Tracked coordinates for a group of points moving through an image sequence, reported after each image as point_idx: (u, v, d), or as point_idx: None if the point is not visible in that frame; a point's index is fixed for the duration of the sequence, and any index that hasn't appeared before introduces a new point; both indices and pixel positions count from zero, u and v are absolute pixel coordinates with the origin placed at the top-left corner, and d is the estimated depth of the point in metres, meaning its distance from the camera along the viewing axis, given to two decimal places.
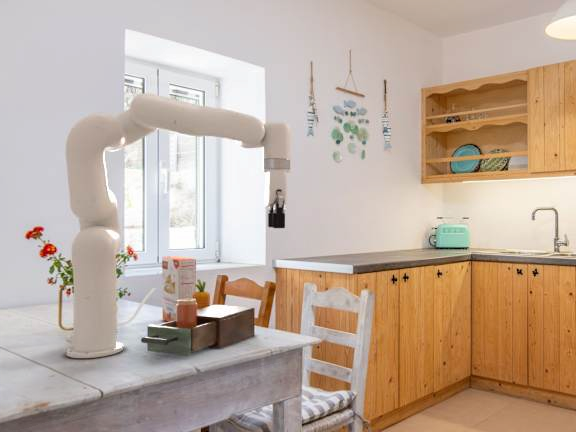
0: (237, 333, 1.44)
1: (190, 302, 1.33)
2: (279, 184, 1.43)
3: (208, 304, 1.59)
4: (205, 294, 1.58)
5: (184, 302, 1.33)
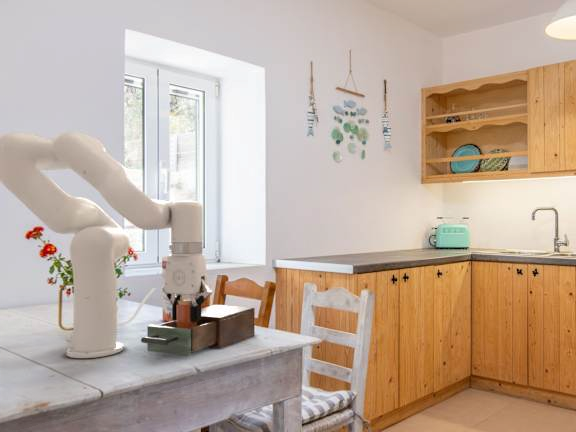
0: (237, 333, 1.44)
1: (190, 302, 1.33)
2: (202, 270, 1.33)
3: (208, 304, 1.59)
4: None
5: (184, 302, 1.33)
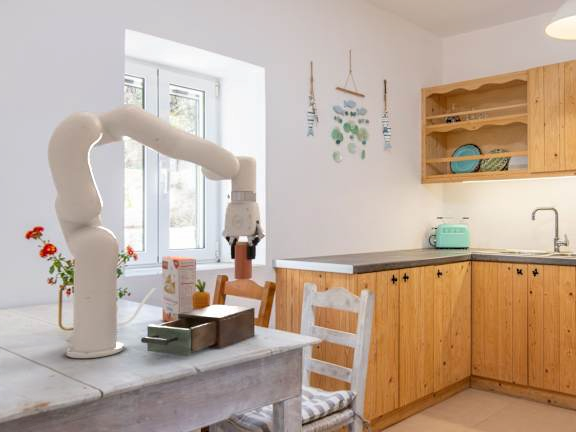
0: (237, 333, 1.44)
1: (246, 243, 1.56)
2: (257, 215, 1.55)
3: (208, 304, 1.59)
4: (205, 294, 1.58)
5: (241, 242, 1.55)
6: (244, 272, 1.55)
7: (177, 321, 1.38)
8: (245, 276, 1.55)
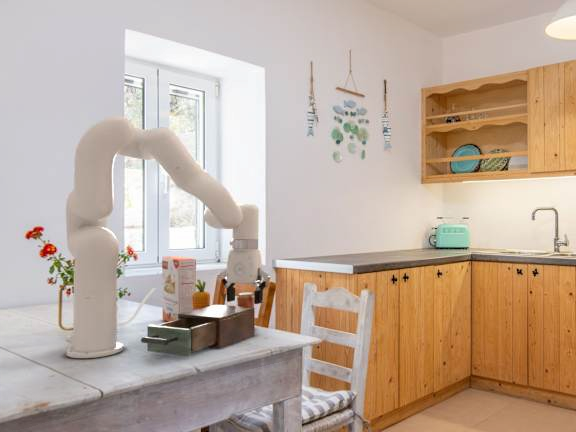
0: (237, 333, 1.44)
1: (249, 295, 1.57)
2: (259, 263, 1.56)
3: (208, 304, 1.59)
4: (205, 294, 1.58)
5: (244, 295, 1.56)
6: None
7: (177, 321, 1.38)
8: None
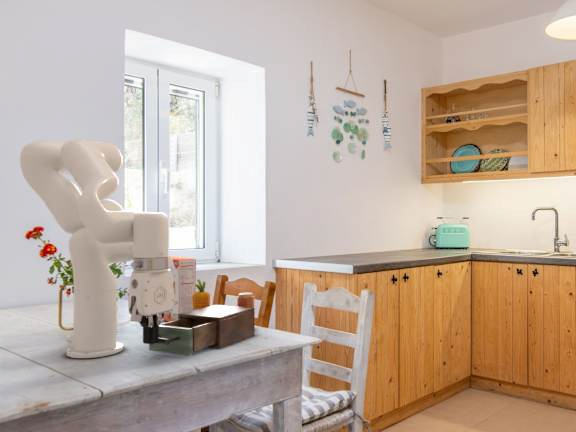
0: (237, 333, 1.44)
1: (249, 295, 1.57)
2: None
3: (208, 304, 1.59)
4: (205, 294, 1.58)
5: (244, 295, 1.56)
6: None
7: (179, 320, 1.39)
8: None
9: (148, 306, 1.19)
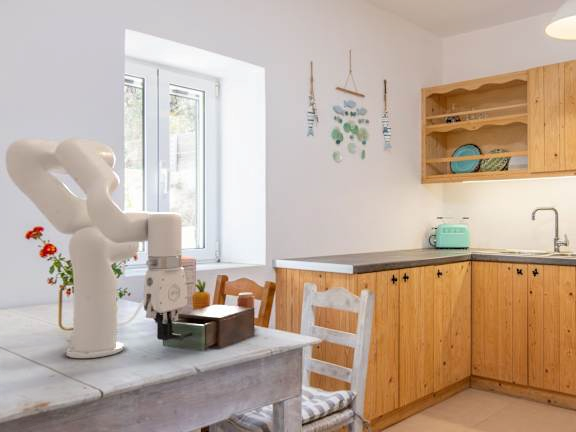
0: (237, 333, 1.44)
1: (249, 295, 1.57)
2: None
3: (208, 304, 1.59)
4: (205, 294, 1.58)
5: (244, 295, 1.56)
6: None
7: None
8: None
9: (163, 303, 1.23)
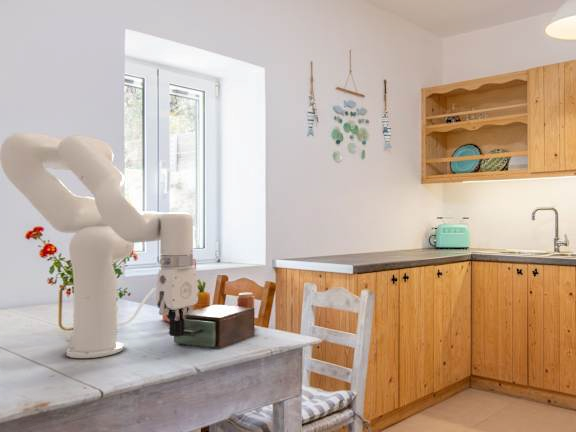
0: (237, 333, 1.44)
1: (249, 295, 1.57)
2: None
3: (208, 304, 1.59)
4: (205, 294, 1.58)
5: (244, 295, 1.56)
6: None
7: None
8: None
9: (175, 300, 1.27)
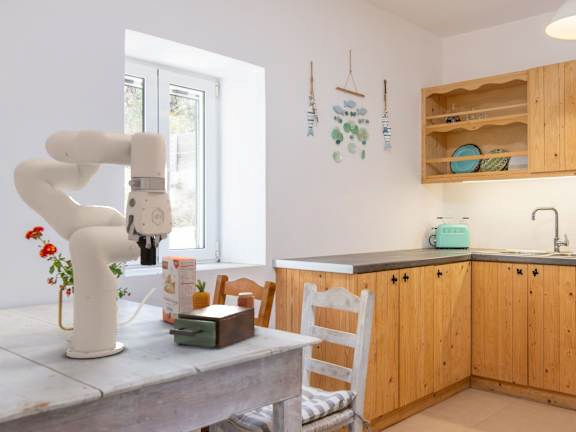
0: (237, 333, 1.44)
1: (249, 295, 1.57)
2: None
3: (208, 304, 1.59)
4: (205, 294, 1.58)
5: (244, 295, 1.56)
6: None
7: None
8: None
9: (146, 225, 1.18)
